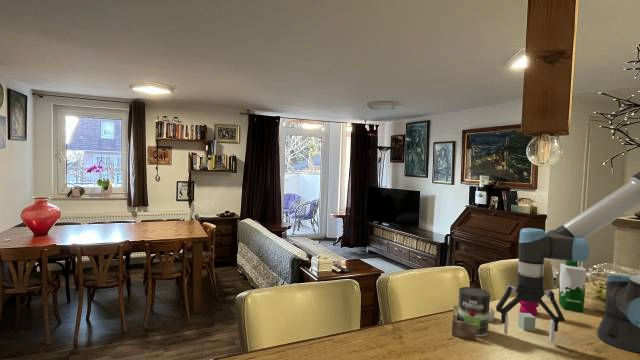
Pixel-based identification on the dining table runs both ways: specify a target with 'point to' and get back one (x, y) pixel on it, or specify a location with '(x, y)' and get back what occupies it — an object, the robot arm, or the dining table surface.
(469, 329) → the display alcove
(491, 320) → the white glossy round part
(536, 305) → the pepper mill
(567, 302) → the milk carton
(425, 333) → the dining table surface
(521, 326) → the sage block
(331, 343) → the dining table surface
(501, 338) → the dining table surface
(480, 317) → the coffee can
